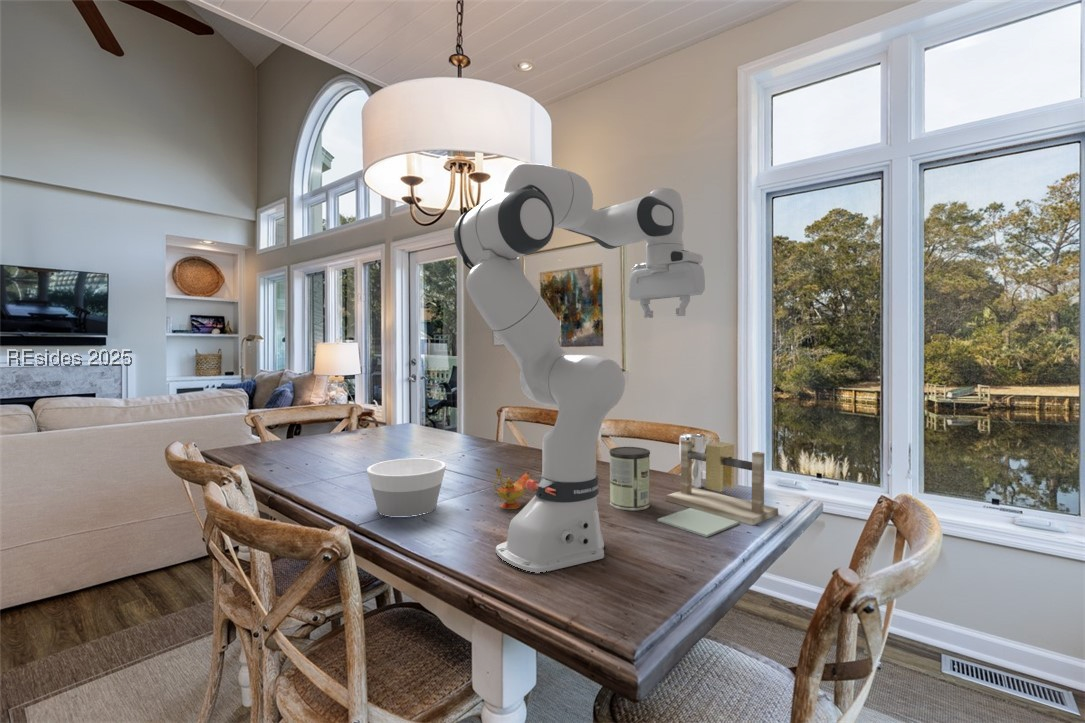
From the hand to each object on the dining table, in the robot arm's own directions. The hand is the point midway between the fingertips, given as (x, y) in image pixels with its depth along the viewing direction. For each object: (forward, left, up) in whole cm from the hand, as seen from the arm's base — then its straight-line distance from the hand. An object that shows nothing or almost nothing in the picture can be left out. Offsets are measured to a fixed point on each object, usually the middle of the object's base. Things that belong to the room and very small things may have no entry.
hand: (664, 317), depth 121 cm
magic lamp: (-24, +29, -48) cm, 61 cm away
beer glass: (+26, +10, -48) cm, 56 cm away
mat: (+1, -9, -48) cm, 49 cm away
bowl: (-47, +43, -48) cm, 80 cm away
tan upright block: (+15, -6, -43) cm, 46 cm away
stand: (+15, -6, -48) cm, 51 cm away
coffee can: (-1, +10, -48) cm, 49 cm away
